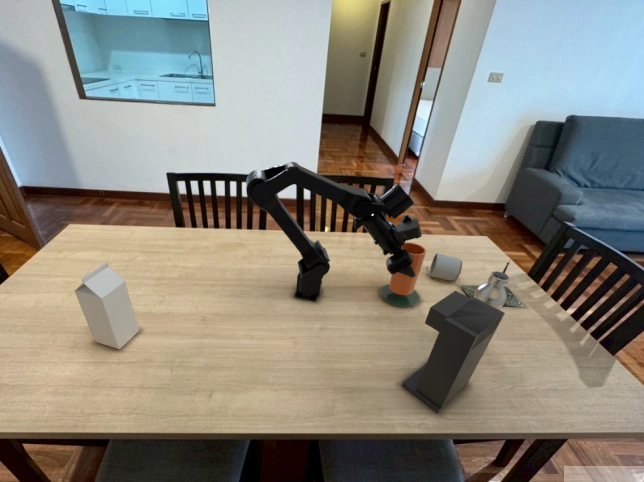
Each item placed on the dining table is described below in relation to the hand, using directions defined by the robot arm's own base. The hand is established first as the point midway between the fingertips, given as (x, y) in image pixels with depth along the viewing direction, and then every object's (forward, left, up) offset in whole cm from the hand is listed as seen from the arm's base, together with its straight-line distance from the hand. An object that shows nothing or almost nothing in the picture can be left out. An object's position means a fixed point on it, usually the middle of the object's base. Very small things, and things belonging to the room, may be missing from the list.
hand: (411, 269), depth 98 cm
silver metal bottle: (+17, -14, -10) cm, 24 cm away
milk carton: (-66, -41, -10) cm, 79 cm away
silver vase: (+26, +9, -10) cm, 29 cm away
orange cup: (-1, 0, -7) cm, 7 cm away
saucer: (-1, 0, -9) cm, 10 cm away
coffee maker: (+8, -32, -9) cm, 34 cm away
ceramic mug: (+11, +17, -10) cm, 22 cm away
